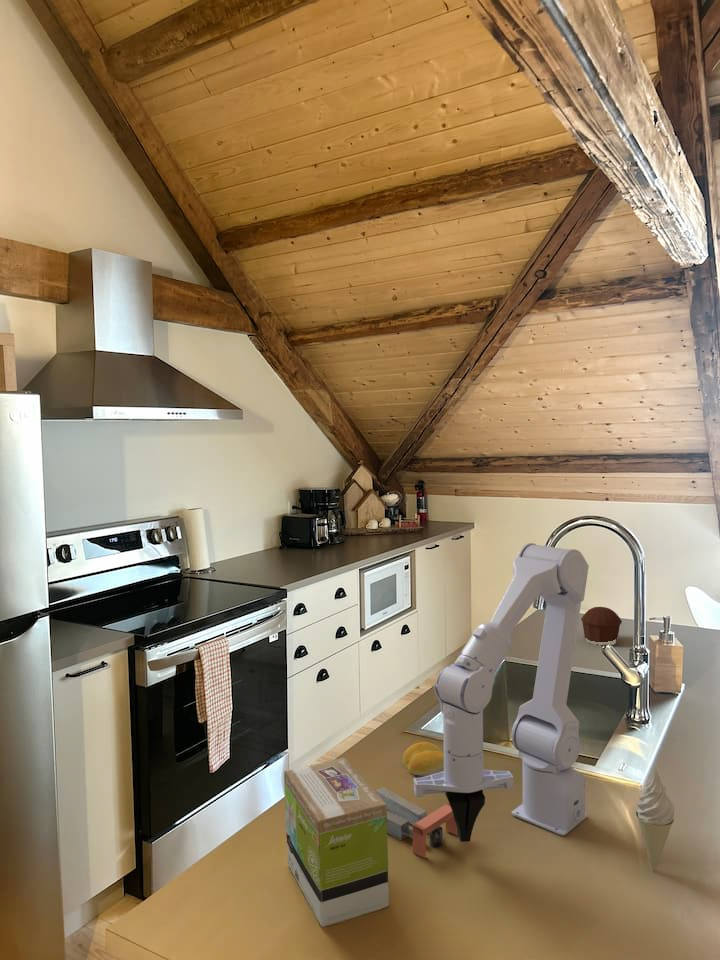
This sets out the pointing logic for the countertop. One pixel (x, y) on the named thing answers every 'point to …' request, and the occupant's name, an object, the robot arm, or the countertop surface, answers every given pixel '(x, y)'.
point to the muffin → (601, 624)
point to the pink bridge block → (432, 827)
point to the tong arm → (401, 806)
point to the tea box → (336, 840)
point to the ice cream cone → (655, 819)
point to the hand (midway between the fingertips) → (463, 837)
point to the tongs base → (410, 830)
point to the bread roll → (424, 759)
